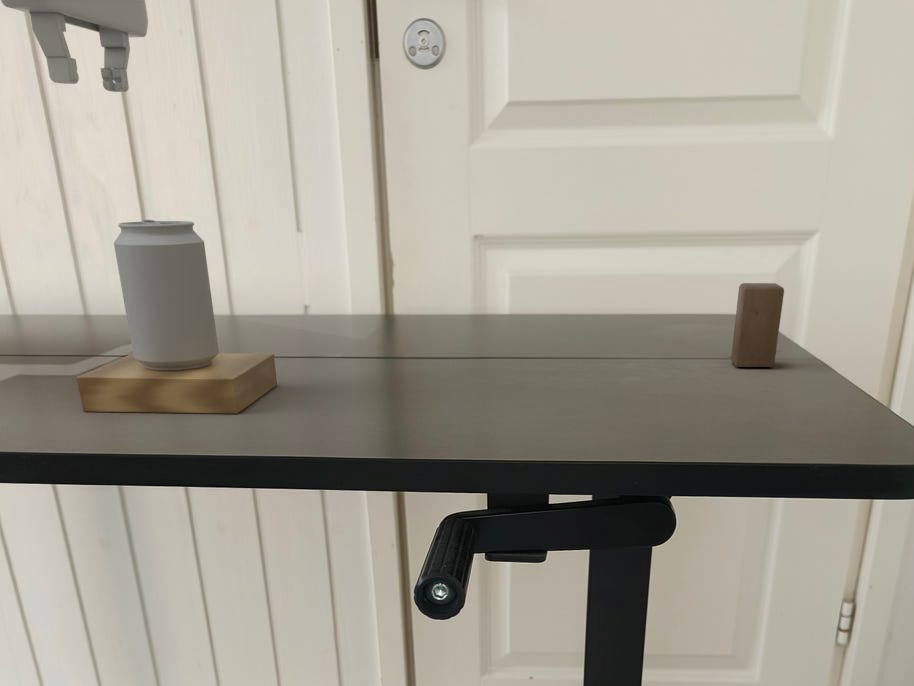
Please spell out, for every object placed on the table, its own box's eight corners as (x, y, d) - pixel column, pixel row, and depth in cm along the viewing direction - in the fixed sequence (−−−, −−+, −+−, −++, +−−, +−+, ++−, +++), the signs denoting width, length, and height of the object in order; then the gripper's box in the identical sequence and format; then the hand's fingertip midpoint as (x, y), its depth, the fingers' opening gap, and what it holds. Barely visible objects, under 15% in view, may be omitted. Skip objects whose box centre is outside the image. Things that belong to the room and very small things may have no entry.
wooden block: (735, 368, 95) (744, 287, 92) (730, 361, 99) (739, 282, 95) (774, 369, 95) (785, 287, 91) (767, 361, 99) (778, 282, 95)
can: (162, 375, 79) (137, 223, 73) (119, 365, 83) (93, 220, 78) (236, 363, 84) (218, 219, 78) (191, 354, 88) (171, 217, 83)
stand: (82, 411, 80) (75, 376, 79) (140, 383, 91) (134, 352, 89) (237, 414, 79) (233, 378, 78) (277, 385, 90) (274, 353, 88)
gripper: (85, -83, 82) (111, 95, 89) (-54, -152, 64) (-8, 77, 71) (152, -83, 82) (174, 96, 88) (32, -153, 64) (70, 78, 70)
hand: (92, 87), depth 79 cm, fingers open, 8 cm apart
